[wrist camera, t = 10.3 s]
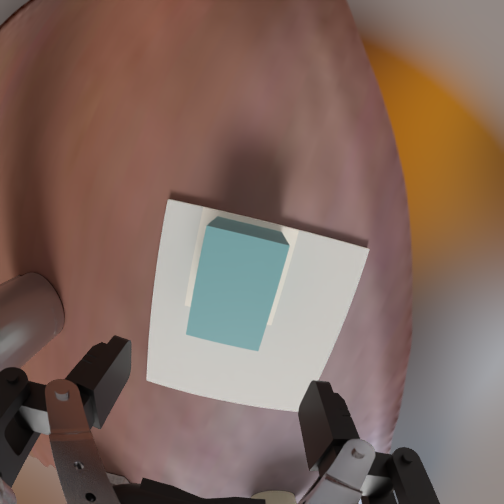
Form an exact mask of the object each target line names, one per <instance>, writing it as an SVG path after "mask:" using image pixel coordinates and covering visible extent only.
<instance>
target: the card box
mask: <svg viewBox="0 0 504 504" xmlns="http://www.w3.org/2000/svg"><path fill="white" fill-rule="evenodd" d="M289 247H290V245H289V244H288V242H287V240H286V238H285V237H284V235H283V233H282V232H280V231H276V230H272V229H268V228H264V227H260V226H256V225H252V224H248V223H244V222H240V221H236V220H231V219H227V218H223V217H219V216H217V217H216V218H215V219H214V220H212V221H211V222H210V223H209V224H208V225H207V226H206V230H205V235H204V240H203V244H202V249H201V254H200V259H199V264H198V269H197V274H196V280H195V285H194V290H193V296H192V301H191V307H190V313H189V319H188V325H187V331H186V335H189V336H193V337H197V338H201V339H205V340H209V341H213V342H217V343H221V344H226V345H230V346H235V347H239V348H244V349H249V350H254V351H259V347H260V344H261V341H262V338H263V335H264V331H265V328H266V325H267V322H268V318H269V315H270V312H271V309H272V305H273V302H274V299H275V295H276V292H277V289H278V285H279V282H280V278H281V275H282V271H283V268H284V264H285V261H286V257H287V254H288V250H289Z"/></svg>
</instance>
